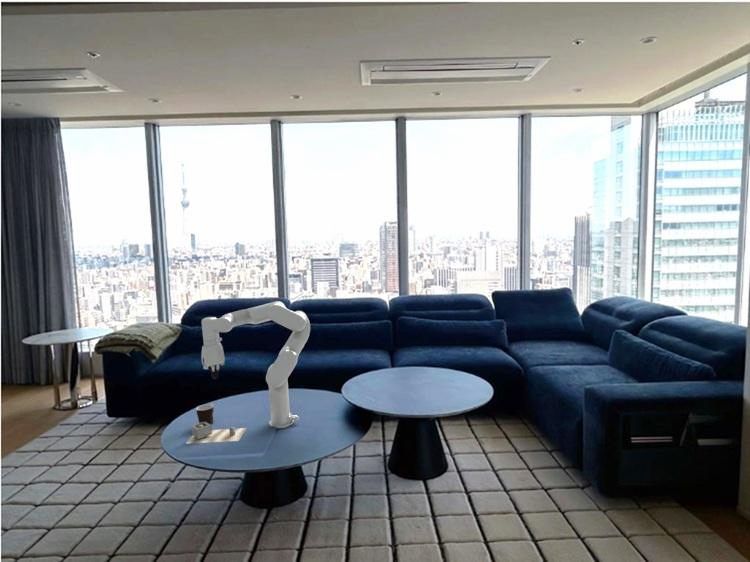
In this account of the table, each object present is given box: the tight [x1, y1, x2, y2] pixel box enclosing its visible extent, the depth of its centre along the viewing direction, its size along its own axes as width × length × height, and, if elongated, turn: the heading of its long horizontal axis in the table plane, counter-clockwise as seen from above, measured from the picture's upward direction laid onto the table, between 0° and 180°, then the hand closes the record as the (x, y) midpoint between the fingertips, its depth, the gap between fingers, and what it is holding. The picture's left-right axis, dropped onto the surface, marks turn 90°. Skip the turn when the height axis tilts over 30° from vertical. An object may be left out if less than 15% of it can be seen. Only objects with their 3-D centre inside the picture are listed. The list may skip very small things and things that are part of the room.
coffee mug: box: [195, 403, 215, 426], centre depth 240 cm, size 12×9×10 cm
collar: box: [190, 421, 213, 439], centre depth 223 cm, size 7×7×4 cm
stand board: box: [185, 425, 247, 445], centre depth 223 cm, size 25×14×7 cm, turn 90°
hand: (215, 378), depth 230 cm, fingers closed
